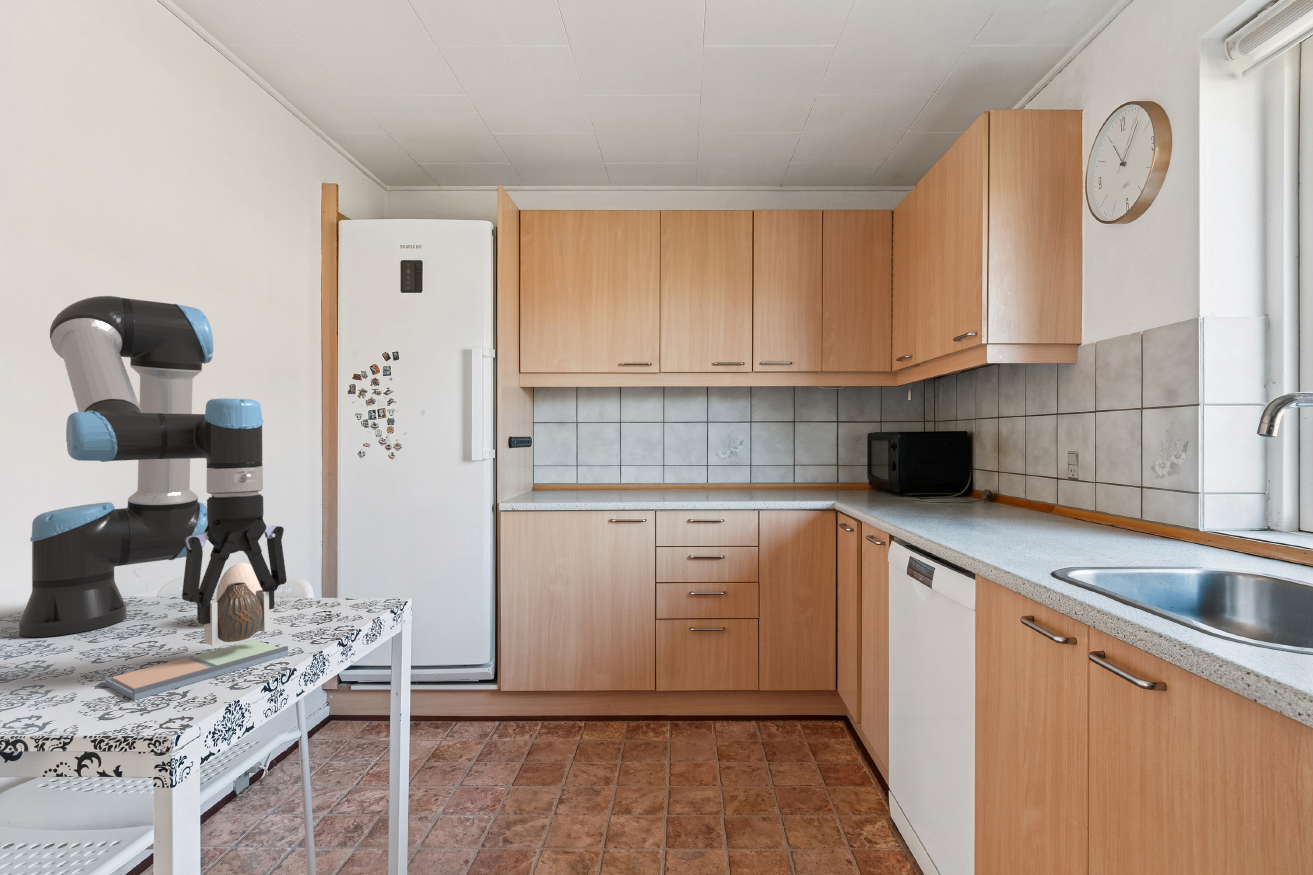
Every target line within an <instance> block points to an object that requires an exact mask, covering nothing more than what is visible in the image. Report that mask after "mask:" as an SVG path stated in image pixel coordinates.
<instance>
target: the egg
mask: <svg viewBox="0 0 1313 875" xmlns="http://www.w3.org/2000/svg"><path fill="white" fill-rule="evenodd" d="M240 582H243V583H246V585H247V587H248V588H249V589H250V590H251V591H252V592H253V593H254V594H255V595H256V591H258V590H262V588H261V586H260V584H259V582H258V579H257V577H256V575H255V573H254V570H253V568H252V566H251V564H250V563H247V562H238V563H235V564H233V565H231V566H230V567H228V569H227V570H226V571H225V572H224V573H223V575H222V576H221V577H220V579H219V582H218V584H217V587H216V597H215V598H216V601H217V600H218V599H219V598H220V597H221V595H222V594H223V593H224V592H225V590H226V588H227V586H228V585H229V584H232V583H240Z"/></svg>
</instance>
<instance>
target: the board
mask: <svg viewBox="0 0 1313 875" xmlns="http://www.w3.org/2000/svg"><path fill="white" fill-rule="evenodd" d="M287 656H289V646H287V645H285V646H282V647H279V646H276V645H273V644H269V643H267V642H263V641H260V640H258V639H253V640H252V639H251V640H248V641H244V642H242V643H241V642H240V643H237V644H233V645H230V646H226V647H222V648H218V649H213V650H210V651H206V652H203V653H199V654H195V655H191V656H188V657H184V658H180V659H177V660H176V659H175V660H172V661H168V662H164V663H160V664H157V665H152V666H149V667H146V668H141V669H137V670H134V671H129V672H126V673H123V674H119V675H115V676H111V677H107V678H105V679H104V685H105V686H107V687H108V688H111V689H113V690H114V691H116V692H117V693H120V694H122V695H124V696H125V697H128V698H130V699H131V700H133V701H138V700H140V699H144V698H147V697H151V696H154V695H157V694H161V693H164V692H167V691H171V690H174V689H178V688H181V687H184V686H188V685H192V684H195V683H198V682H202V681H206V680H209V679H212V678H216V677H219V676H222V675H225V674H229V673H232V672H235V671H239V670H243V669H247V668H249V667H253V666H255V665H256V666H257V665H259V664H262V663H265V662H269V661H273V660H276V659H280V658H283V657H287Z"/></svg>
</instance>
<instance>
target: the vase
mask: <svg viewBox="0 0 1313 875" xmlns="http://www.w3.org/2000/svg"><path fill="white" fill-rule="evenodd" d="M216 602H217V615H218V640H220V641H221V642H223V643H234V642H235V643H236V642H240V641H243V640H247V639H251V638H252V637H253V636H254V635H255V634H256V633H257V631H259V630H258V629H259V627H260V625H261V622H262V615H263V611H262V606H261V603H260V600H259V599H258V597H257V596H256V595H255V594H254V593H253V592H252V591H251V590H250V589H249V588H248V587H247V585H246V583H243V582H240V583H232V584H229V585H228V586H227V588H226V590H225V592H224V593H223V594H222V595H221V597H220V598H219V599H218V600H217V599H216Z"/></svg>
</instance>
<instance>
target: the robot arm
mask: <svg viewBox="0 0 1313 875" xmlns="http://www.w3.org/2000/svg"><path fill="white" fill-rule="evenodd" d="M49 340H50V344H51V346H52V349H53V351H54V352H55V353H56V354H57V355H58V356H59V357H60V358H62V359H63V361H64V365H65V368H66V372H67V376H68V380H69V382H70V386H71V389H72V394H73V397H74V401H75V405H76V407H77V411H76V412H75V411H74V412H72V413H70V414H69V415H68V416H67V417H68V418H67V421H66V425H65V426H66V427H65V428H66V429H65V437H66V438H65V441H66V448H67V453H68V455H69V457H70V458H71V459H73V460H75V461H80V462H81V461H86V462H87V461H89V462H90V461H91V462H94V461H95V462H101V463H107V462H118V461H122V462H123V461H137V489H136V491H135V492H134V493H133V494H131V495H130V496H129V497H128V498H127V507H124V508H123V507H122V508H115V506H114V504H113V502H98V503H88V504H82V505H77V506H69V507H64V508H59V509H54V510H49V511H46V512H42V513H40V514H38V515H37V516H35V518H34V519H33V520H32V522H31V523H32V524H31V537H30V539H29V541H30V542H31V588H32V589H31V590H32V591H31V594H30V596H29V599H28V601H27V604H26V606H25V608H24V611H23V613H22V615H21V618H20V620H19V624H18V626H19V627H18V630H19V632H18V634H19V636H20V637H24V638H25V637H26V638H42V637H55V636H63V635H70V634H76V633H82V632H87V631H92V630H97V629H101V628H106V627H109V626H112V625H115V624H118V623H120V622H122V621H124V620H126V618H127V606H126V603H125V602H124V599H123V597H122V595H121V593H120V590H119V588H118V585H117V584H116V582H115V567H122V566H128V565H129V566H130V565H136V564H144V563H152V562H160V561H174V560H176V559H181V558H185V566H184V575H183V582H182V583H183V584H182V591H181V593H182V594H181V599H182V600H184V601H186V602H190V603H196V610H197V611H196V615H197V617H196V618H197V623H198V624H199V625H202V626H203V629H204V630H203V631H204V632H203V633H204V634H203V635H204V637H203V638H204V641H203V642H204V644H207V645H210V646H216V645H218V644H219V638H218V615H217V601H214V600H213V597H214V594H215V591H216V590H217V587H218V585H219V582H220V579H221V575H222V572H223V570H224V567H225V564H226V561H227V560H229V558H230V554H235V553H237V552H243V553H244V554H245V555H246V557H247V559H248V561H249V564H250V565H251V566H252V568H253V570H254V573H255V575H256V577H257V579H258V582H259V584H260V586H261V588H262V590H258V591H256V596H257V597H258V599H259V600H260V603H261V606H262V611H263V615H262V622H261V625H260V627H259V629H258V630H257V631H260V632H263V633H266V632H270V610H273V609H274V608H275V592H276V591H277V590H278V588H279V586H281V585H284V584H286V583H287V580H288V579H287V572H286V566H285V565H286V564H285V556H284V549H283V541H282V540H283V536H284V532H285V528H284V527H283V526H282V525H281V526H279V525H267V524H266V523H265V521H264V514H265V513H264V495H262V494H260V493H259V492H262V491H263V490H264V473H263V470H264V468H263V465H264V464H263V424H264V420H263V415H262V414H263V413H262V406H261V403H260V402H259V401H257V400H255V399H251V398H250V399H248V398H212V399H210V400H208V401H207V402H206V404H205V412H204V413H193V412H192V410H193V408H192V407H193V380H194V378H195V377H197V376H198V375H199V374H201V373H202V371H203V365H205V364H208V363H211V361H212V360H213V356H214V354H213V353H214V336H213V332H212V327H211V323H210V322H209V319H208V317H207V315H206V314H205V313H204V312H203V311H202V310H200V309H199V308H196V307H192V306H187V305H182V304H177V303H167V302H159V301H152V300H151V301H150V300H143V299H135V298H126V297H119V296H113V295H112V296H111V295H100V296H99V295H98V296H92V297H87V298H85V299H80V300H77V301H76V302H73V303H71V304H70V305H68V306H67V307H65V308H63V309H62V310H61V311H60V312H58V314H57V315H56V317H55V318H54V320H52V323H51V325H50V328H49ZM122 357H123V358H128V359H129V358H130V360H129V361H130V364H129V365H130V368H132V370H134V371H135V372H136V373H137V374H138V375H139V401H138V398H137V395H136V393H135V391H134V388H133V385H132V382H131V379H130V377H129V374H128V372H127V369H126V367H125V363H124V360H123V358H122ZM192 459H206V493H207V494H209V495H210V496H209V497H208V499H206V504H205V503H203V502H200V501H199V496H198V495H197V494H196V493H195V492H194V491H192V490H191V486H190V484H191V483H190V482H191V480H190V479H191V460H192ZM263 535H264V537H265V538H266V545H267V546H266V547H267V553H268V561H269V567H270V569H269V567H268V565H267V563H266V561H265V558H264V555H263V553H262V552H263V550H262V547H261V545H260V543H259V540H260V539H261V537H262V536H263ZM207 540H208V542H210V544H211V545H212V546H213V548H212V550H211V552H210V557H209V558H210V559H209V562H208V565H207V566H206V570H205V573H204V575H203V578H202V580H201V573H202V566H203V548H204V547H205V545H206V541H207Z"/></svg>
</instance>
